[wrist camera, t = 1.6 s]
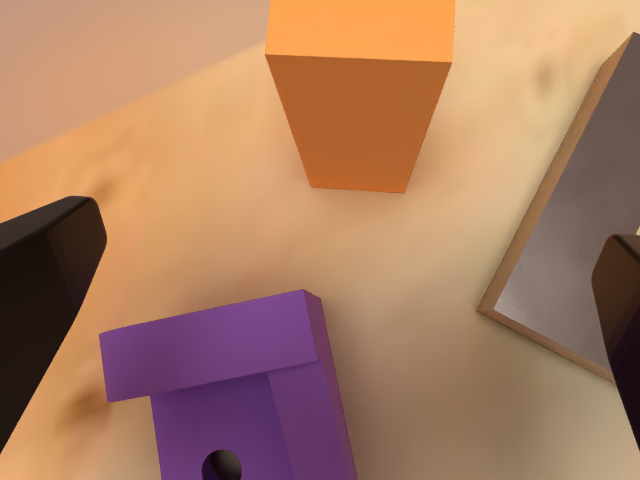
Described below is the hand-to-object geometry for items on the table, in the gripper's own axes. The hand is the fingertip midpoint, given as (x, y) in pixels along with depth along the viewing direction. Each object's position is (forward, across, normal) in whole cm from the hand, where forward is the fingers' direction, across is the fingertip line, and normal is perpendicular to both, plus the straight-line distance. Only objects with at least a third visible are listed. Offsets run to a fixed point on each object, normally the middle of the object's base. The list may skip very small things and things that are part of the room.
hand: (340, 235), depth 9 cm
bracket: (+4, +3, +14) cm, 15 cm away
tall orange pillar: (+13, 0, +4) cm, 14 cm away
